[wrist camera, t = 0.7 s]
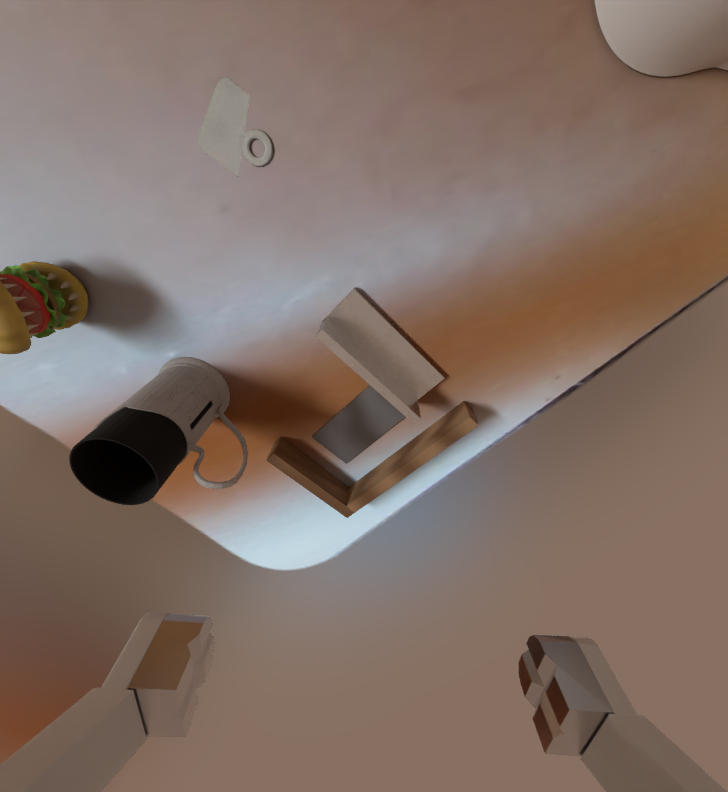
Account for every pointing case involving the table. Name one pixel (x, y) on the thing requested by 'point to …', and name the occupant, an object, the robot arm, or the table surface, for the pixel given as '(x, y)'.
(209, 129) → the grey piece
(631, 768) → the robot arm
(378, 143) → the table surface
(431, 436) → the brown wooden l-shaped piece
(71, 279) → the hamburger
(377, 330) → the angle bracket
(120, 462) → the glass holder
